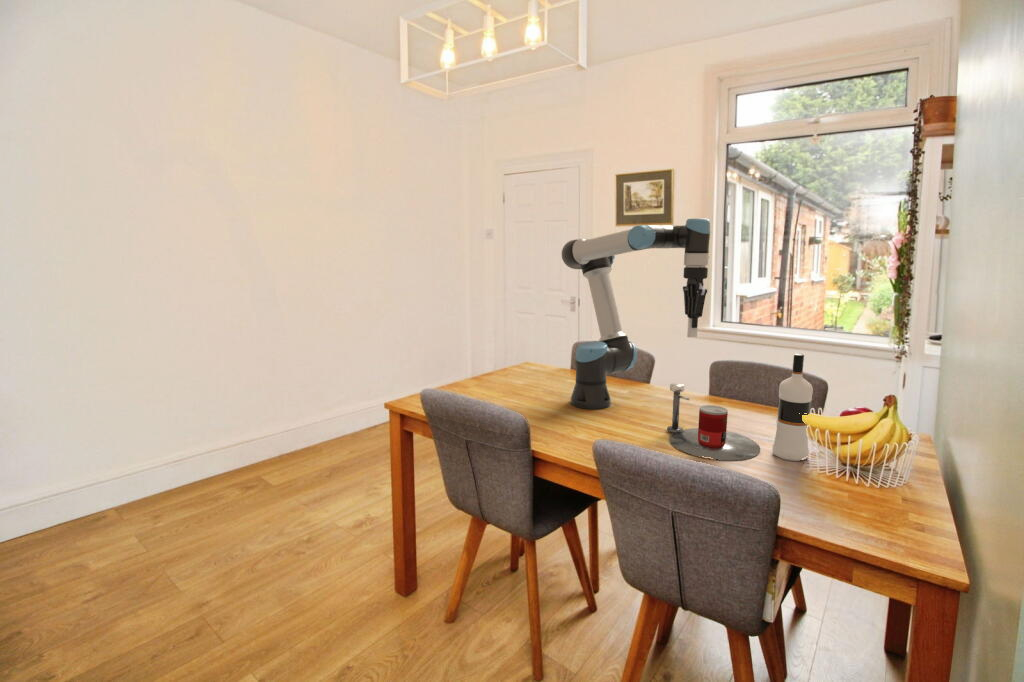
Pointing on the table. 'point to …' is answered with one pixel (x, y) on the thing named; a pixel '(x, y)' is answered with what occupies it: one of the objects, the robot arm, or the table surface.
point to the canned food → (712, 426)
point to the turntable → (731, 451)
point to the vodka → (793, 414)
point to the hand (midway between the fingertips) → (692, 336)
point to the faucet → (676, 407)
